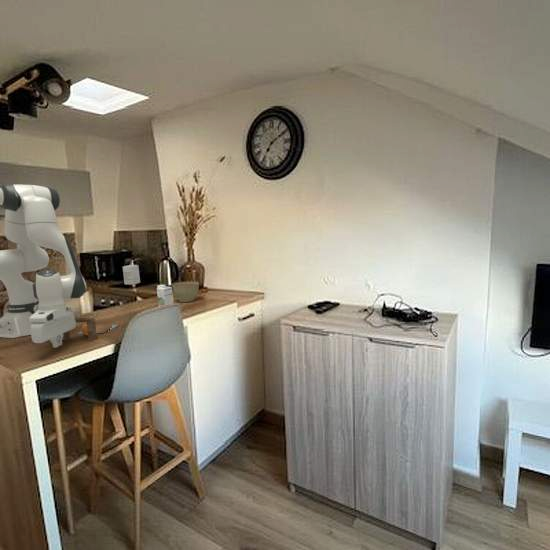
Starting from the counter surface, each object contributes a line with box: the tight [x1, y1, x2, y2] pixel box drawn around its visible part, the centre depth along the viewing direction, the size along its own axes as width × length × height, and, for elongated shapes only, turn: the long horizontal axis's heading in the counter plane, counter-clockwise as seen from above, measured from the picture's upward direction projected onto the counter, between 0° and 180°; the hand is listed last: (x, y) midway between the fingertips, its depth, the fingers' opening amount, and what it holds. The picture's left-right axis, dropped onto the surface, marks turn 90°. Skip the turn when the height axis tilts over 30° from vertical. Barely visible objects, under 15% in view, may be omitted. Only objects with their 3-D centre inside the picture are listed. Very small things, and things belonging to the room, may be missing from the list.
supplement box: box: [122, 264, 141, 286], centre depth 297 cm, size 9×9×15 cm
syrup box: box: [156, 285, 174, 308], centre depth 192 cm, size 6×6×14 cm
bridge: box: [62, 316, 98, 341], centre depth 155 cm, size 3×14×9 cm, turn 84°
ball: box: [81, 322, 88, 337], centre depth 160 cm, size 6×6×6 cm
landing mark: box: [76, 324, 119, 335], centre depth 169 cm, size 13×13×1 cm
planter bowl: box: [171, 281, 200, 303], centre depth 223 cm, size 16×16×11 cm
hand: (57, 346), depth 142 cm, fingers closed
